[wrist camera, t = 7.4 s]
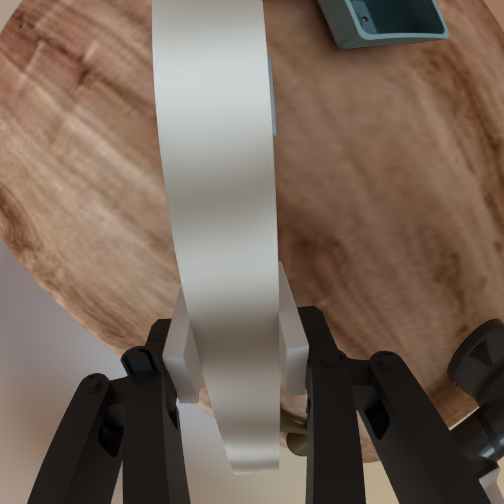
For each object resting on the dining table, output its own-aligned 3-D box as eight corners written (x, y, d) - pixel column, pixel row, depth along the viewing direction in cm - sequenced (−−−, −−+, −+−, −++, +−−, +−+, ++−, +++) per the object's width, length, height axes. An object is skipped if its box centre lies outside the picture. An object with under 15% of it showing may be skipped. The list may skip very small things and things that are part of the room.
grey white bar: (272, 423, 22) (278, 471, 18) (232, 426, 22) (234, 474, 18) (249, -1, 10) (256, -51, 5) (177, 6, 10) (153, -40, 5)
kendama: (266, 380, 39) (355, 413, 44) (230, 411, 42) (319, 437, 47) (268, 413, 33) (364, 439, 38) (228, 441, 36) (323, 462, 41)
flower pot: (293, -10, 19) (315, -55, 11) (369, -15, 18) (410, -48, 10) (324, 64, 22) (362, 39, 14) (399, 54, 22) (452, 39, 14)
